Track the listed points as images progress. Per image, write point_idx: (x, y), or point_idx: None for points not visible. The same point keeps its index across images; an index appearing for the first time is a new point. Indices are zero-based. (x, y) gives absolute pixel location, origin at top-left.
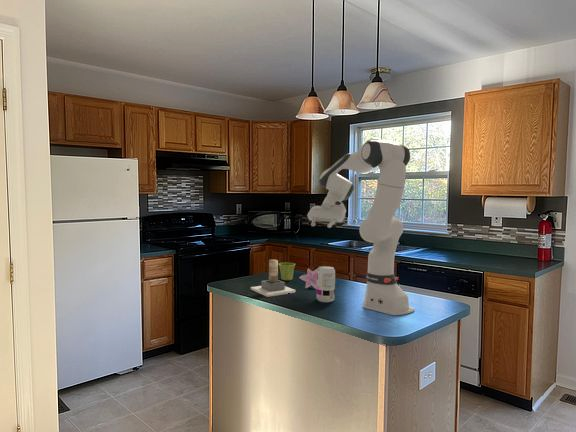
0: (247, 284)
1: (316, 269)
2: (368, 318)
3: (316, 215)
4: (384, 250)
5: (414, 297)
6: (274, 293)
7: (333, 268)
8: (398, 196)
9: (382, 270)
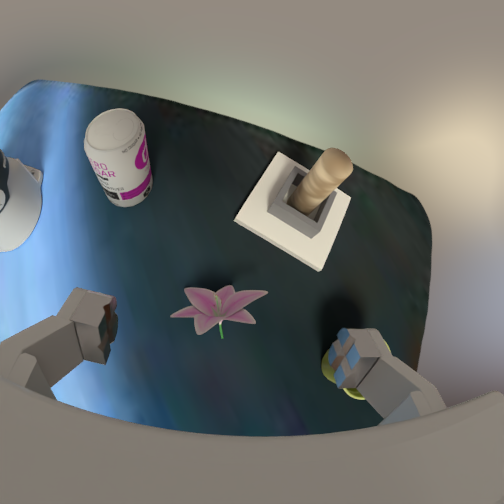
0: (383, 243)
1: (213, 324)
2: (41, 123)
3: (423, 435)
4: None
5: None
6: (269, 165)
7: (86, 131)
8: None
9: None
